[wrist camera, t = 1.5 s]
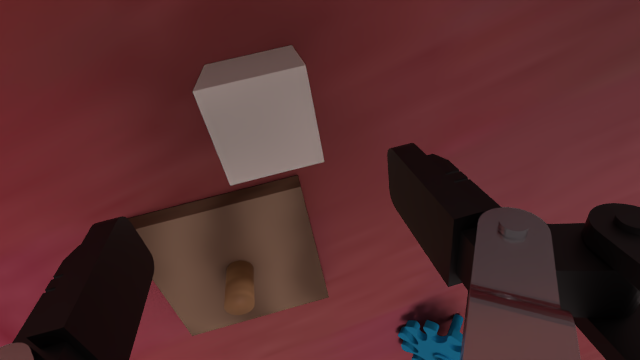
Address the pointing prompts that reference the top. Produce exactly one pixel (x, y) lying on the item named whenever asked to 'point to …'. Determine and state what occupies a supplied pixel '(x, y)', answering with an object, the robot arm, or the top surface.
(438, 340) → the blue piece
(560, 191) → the top surface
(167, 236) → the board
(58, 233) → the top surface
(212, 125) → the pale grey cube block
